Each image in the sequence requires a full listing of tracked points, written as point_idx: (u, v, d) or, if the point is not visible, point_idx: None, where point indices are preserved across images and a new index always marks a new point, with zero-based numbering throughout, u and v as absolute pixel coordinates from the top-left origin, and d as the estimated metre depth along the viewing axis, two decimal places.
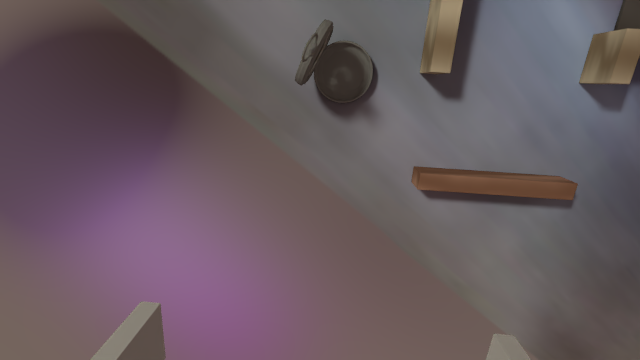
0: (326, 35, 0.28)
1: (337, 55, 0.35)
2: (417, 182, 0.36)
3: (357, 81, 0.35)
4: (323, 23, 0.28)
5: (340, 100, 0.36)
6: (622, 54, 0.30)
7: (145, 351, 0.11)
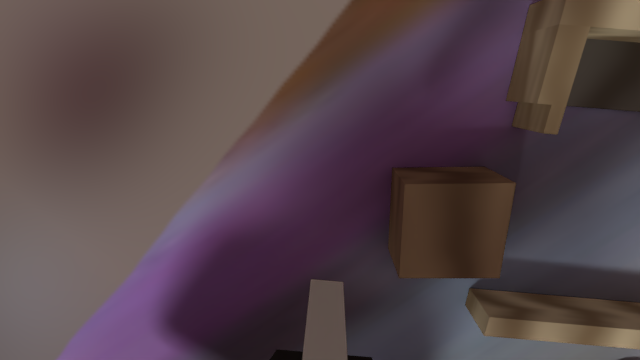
0: None
1: None
2: None
3: None
4: None
5: None
6: None
7: None
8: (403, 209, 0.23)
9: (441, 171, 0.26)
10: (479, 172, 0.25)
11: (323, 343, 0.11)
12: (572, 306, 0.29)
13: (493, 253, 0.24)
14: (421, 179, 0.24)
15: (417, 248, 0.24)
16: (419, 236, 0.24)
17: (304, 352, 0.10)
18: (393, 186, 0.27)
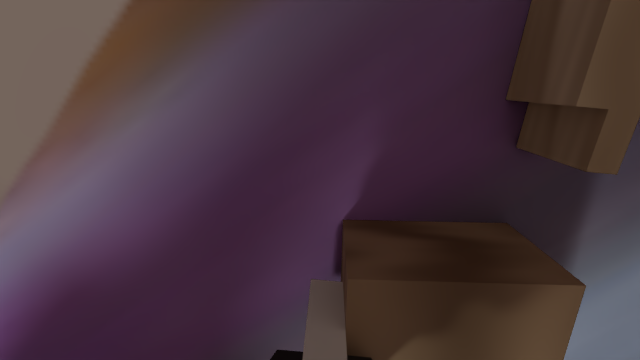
0: None
1: None
2: None
3: None
4: None
5: None
6: None
7: None
8: (346, 325, 0.11)
9: (429, 235, 0.14)
10: (501, 242, 0.13)
11: (323, 343, 0.11)
12: None
13: None
14: (387, 261, 0.12)
15: None
16: None
17: (304, 352, 0.10)
18: (342, 256, 0.15)
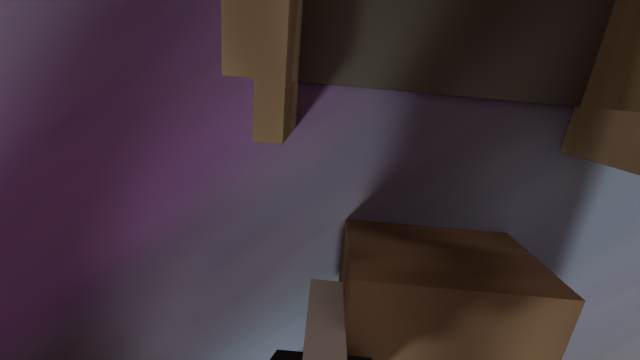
0: None
1: None
2: None
3: None
4: None
5: None
6: None
7: None
8: (346, 326, 0.11)
9: (432, 241, 0.14)
10: (502, 252, 0.13)
11: (323, 343, 0.11)
12: None
13: None
14: (390, 264, 0.12)
15: None
16: None
17: (304, 352, 0.10)
18: (343, 256, 0.15)
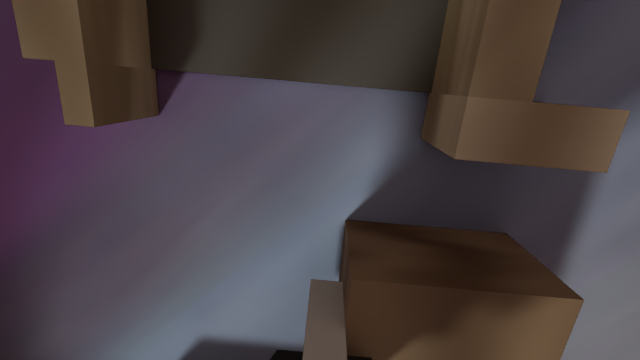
0: None
1: None
2: None
3: None
4: None
5: None
6: (527, 155, 0.10)
7: None
8: (346, 325, 0.11)
9: (431, 241, 0.14)
10: (502, 252, 0.13)
11: (323, 343, 0.11)
12: None
13: None
14: (390, 264, 0.12)
15: None
16: None
17: (304, 352, 0.10)
18: (343, 256, 0.15)
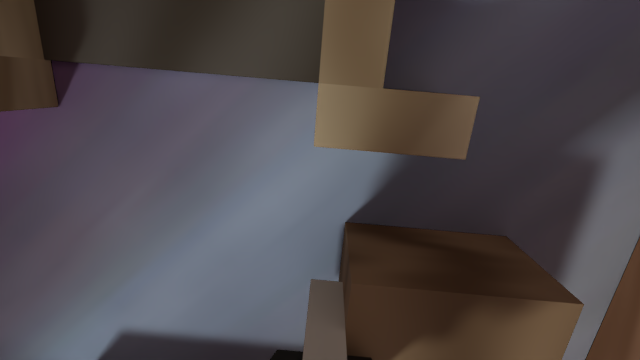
0: None
1: None
2: None
3: None
4: None
5: None
6: (384, 142, 0.10)
7: None
8: (346, 329, 0.11)
9: (431, 244, 0.14)
10: (502, 255, 0.13)
11: (322, 343, 0.11)
12: None
13: None
14: (390, 267, 0.12)
15: None
16: None
17: (304, 352, 0.10)
18: (343, 259, 0.15)
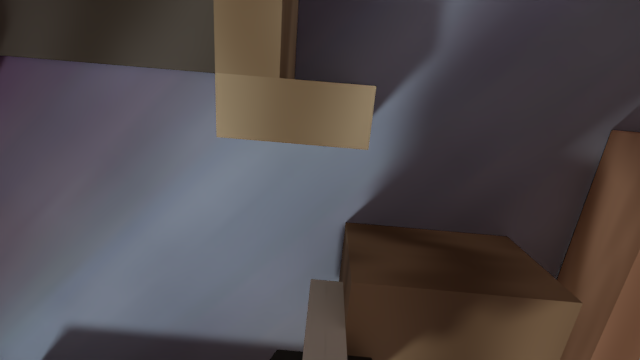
0: None
1: None
2: None
3: None
4: None
5: None
6: (286, 132, 0.10)
7: None
8: (346, 327, 0.11)
9: (431, 243, 0.14)
10: (501, 254, 0.13)
11: (323, 343, 0.11)
12: None
13: None
14: (390, 266, 0.12)
15: None
16: None
17: (304, 352, 0.10)
18: (343, 258, 0.15)
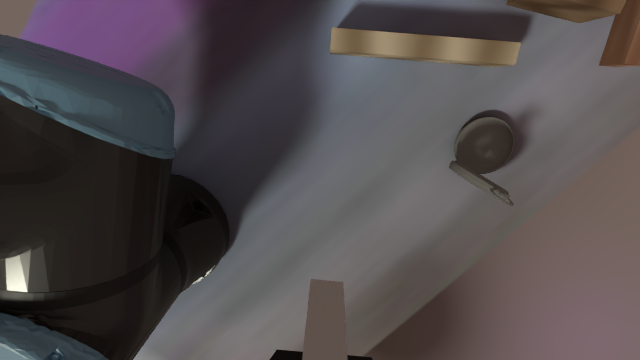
0: (477, 174, 0.30)
1: (464, 150, 0.36)
2: (632, 65, 0.31)
3: (492, 130, 0.35)
4: (464, 175, 0.31)
5: (510, 148, 0.36)
6: None
7: None
8: None
9: None
10: None
11: (323, 343, 0.11)
12: None
13: None
14: None
15: None
16: None
17: (304, 352, 0.10)
18: None
